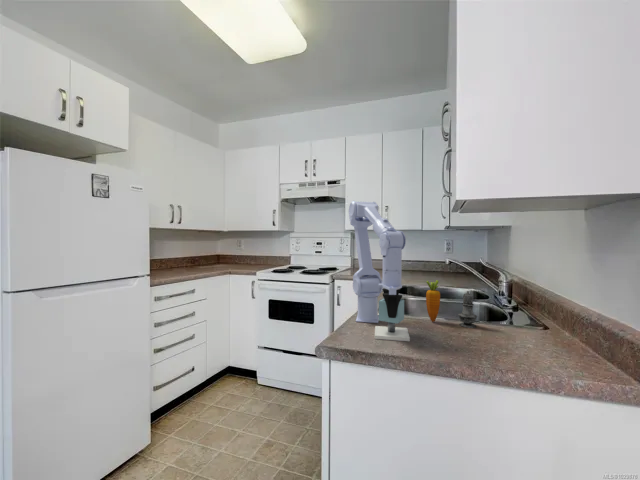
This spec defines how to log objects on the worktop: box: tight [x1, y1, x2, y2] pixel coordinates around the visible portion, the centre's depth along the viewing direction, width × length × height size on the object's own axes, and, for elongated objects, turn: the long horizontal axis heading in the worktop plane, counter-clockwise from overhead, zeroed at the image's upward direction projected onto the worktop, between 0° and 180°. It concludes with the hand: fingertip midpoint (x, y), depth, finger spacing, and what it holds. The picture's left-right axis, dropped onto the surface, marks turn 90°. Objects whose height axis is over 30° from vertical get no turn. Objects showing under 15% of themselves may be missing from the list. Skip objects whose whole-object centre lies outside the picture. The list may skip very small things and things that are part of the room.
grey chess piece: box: [458, 290, 478, 329], centre depth 104 cm, size 6×6×12 cm
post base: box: [374, 322, 411, 342], centre depth 93 cm, size 10×10×5 cm
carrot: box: [425, 279, 441, 323], centre depth 108 cm, size 5×5×15 cm
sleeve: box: [378, 298, 405, 324], centre depth 93 cm, size 6×6×6 cm
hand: (391, 314), depth 93 cm, fingers closed on sleeve, 7 cm apart
